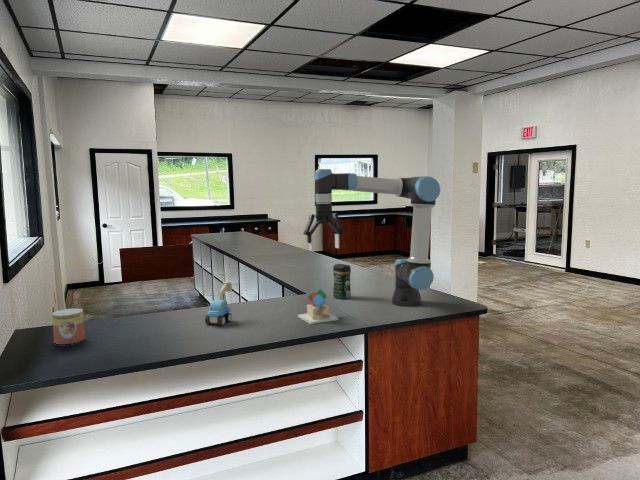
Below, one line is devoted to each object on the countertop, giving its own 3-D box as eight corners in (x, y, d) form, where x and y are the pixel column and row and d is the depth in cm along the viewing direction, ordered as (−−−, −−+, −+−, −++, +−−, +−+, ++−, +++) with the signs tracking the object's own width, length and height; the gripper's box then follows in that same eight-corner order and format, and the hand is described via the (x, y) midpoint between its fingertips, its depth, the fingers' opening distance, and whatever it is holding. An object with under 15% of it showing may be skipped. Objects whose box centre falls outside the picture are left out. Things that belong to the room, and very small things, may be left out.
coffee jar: (330, 297, 263) (330, 263, 260) (341, 295, 268) (341, 262, 266) (342, 300, 255) (342, 266, 253) (353, 297, 260) (353, 264, 258)
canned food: (52, 346, 187) (50, 316, 185) (55, 338, 197) (53, 310, 196) (84, 342, 191) (82, 313, 190) (86, 334, 201) (84, 307, 200)
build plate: (324, 312, 231) (324, 310, 231) (338, 319, 218) (338, 317, 218) (297, 316, 224) (297, 314, 224) (310, 324, 212) (310, 322, 212)
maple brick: (322, 313, 226) (322, 302, 226) (329, 317, 219) (329, 306, 218) (307, 315, 223) (306, 304, 223) (313, 319, 216) (313, 308, 215)
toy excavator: (239, 317, 226) (238, 281, 224) (220, 327, 210) (219, 288, 208) (223, 315, 229) (222, 280, 227) (203, 325, 213) (202, 287, 211)
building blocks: (320, 314, 223) (318, 305, 213) (308, 302, 226) (306, 293, 216) (332, 303, 225) (331, 293, 215) (320, 291, 229) (318, 281, 218)
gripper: (343, 202, 228) (343, 246, 231) (295, 203, 217) (296, 250, 219) (351, 202, 222) (351, 247, 224) (302, 204, 210) (303, 252, 213)
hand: (324, 249), depth 222 cm, fingers open, 13 cm apart
